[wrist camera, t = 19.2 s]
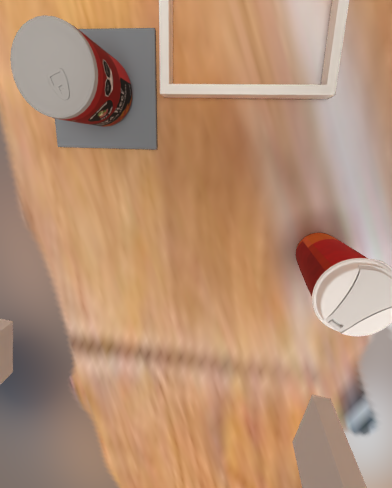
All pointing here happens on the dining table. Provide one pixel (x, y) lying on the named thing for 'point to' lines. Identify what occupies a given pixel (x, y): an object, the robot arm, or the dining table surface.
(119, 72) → the canned food
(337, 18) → the corral
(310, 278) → the paper cup
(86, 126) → the mat
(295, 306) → the dining table surface
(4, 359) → the robot arm
